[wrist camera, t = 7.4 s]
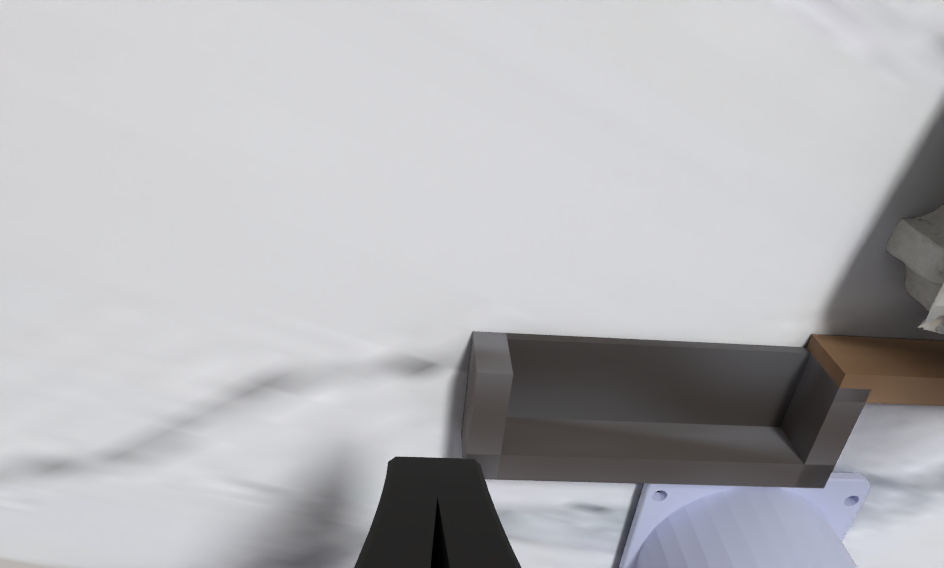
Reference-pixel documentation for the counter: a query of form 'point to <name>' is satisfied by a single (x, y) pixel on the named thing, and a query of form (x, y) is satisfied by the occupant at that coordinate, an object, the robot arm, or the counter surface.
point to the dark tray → (681, 406)
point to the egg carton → (923, 263)
